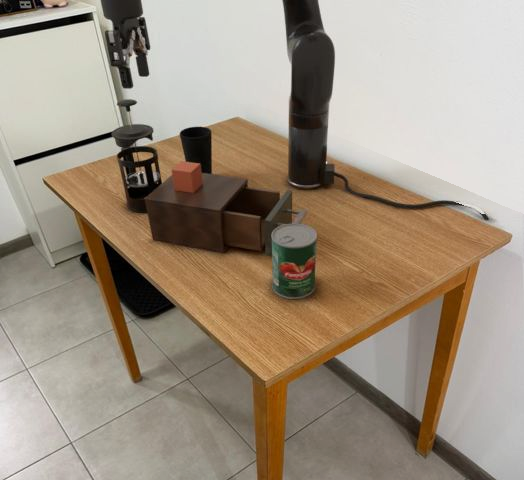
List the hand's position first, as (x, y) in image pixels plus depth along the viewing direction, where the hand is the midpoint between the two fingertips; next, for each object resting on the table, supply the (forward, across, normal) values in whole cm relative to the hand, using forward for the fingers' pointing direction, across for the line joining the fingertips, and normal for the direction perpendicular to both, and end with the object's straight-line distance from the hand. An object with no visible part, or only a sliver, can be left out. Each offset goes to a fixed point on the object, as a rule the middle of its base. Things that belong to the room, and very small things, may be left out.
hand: (136, 81), depth 105 cm
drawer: (+25, -15, -28) cm, 40 cm away
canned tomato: (+26, -30, -39) cm, 56 cm away
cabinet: (+26, -13, -15) cm, 33 cm away
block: (+16, -13, -14) cm, 25 cm away
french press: (+26, -3, +2) cm, 26 cm away
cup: (+26, +11, -7) cm, 29 cm away
